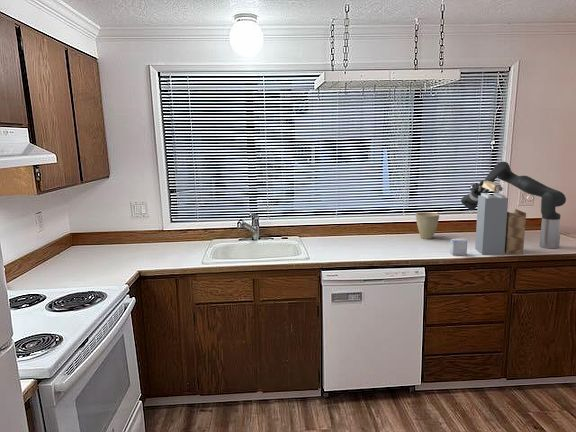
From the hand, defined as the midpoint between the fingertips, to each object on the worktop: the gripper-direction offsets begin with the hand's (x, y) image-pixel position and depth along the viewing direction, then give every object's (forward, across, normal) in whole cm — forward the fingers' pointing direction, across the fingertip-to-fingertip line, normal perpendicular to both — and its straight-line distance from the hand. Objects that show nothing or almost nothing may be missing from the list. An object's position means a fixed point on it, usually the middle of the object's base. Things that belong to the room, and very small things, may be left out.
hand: (486, 181), depth 253 cm
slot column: (-10, 0, +40) cm, 41 cm away
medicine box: (-5, -19, +43) cm, 47 cm away
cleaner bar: (+5, 0, +7) cm, 9 cm away
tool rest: (-11, +12, +39) cm, 42 cm away
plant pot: (-40, -28, +23) cm, 54 cm away
